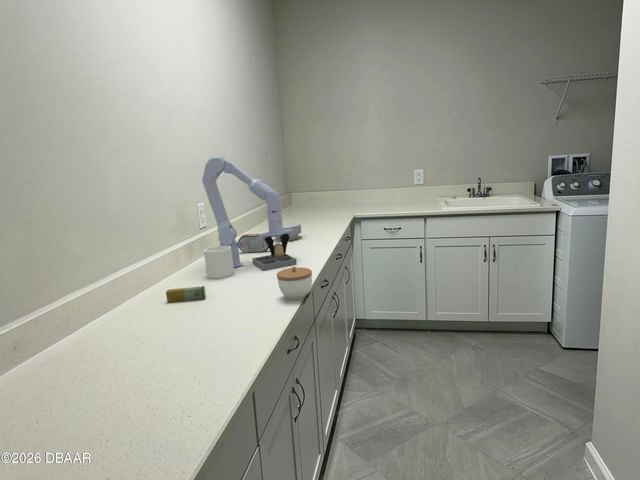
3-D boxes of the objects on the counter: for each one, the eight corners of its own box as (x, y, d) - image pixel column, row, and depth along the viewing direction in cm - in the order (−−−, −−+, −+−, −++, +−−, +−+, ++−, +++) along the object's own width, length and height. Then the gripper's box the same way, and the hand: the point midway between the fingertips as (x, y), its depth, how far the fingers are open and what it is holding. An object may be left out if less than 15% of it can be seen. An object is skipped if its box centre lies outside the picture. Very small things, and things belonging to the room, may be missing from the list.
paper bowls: (301, 241, 210) (299, 225, 208) (270, 243, 211) (268, 227, 209) (302, 235, 225) (301, 220, 223) (274, 237, 225) (272, 222, 224)
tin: (271, 250, 195) (270, 232, 193) (270, 252, 192) (268, 234, 190) (240, 252, 197) (237, 234, 195) (238, 254, 194) (236, 236, 192)
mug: (226, 279, 156) (222, 252, 153) (202, 278, 159) (198, 252, 156) (241, 269, 167) (238, 244, 165) (219, 269, 170) (216, 244, 168)
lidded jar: (282, 304, 125) (279, 274, 123) (276, 293, 135) (273, 265, 133) (317, 298, 128) (315, 268, 126) (309, 288, 138) (306, 260, 136)
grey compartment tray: (263, 270, 162) (262, 265, 162) (252, 263, 175) (252, 258, 174) (296, 264, 168) (296, 258, 168) (284, 257, 180) (283, 252, 180)
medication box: (206, 297, 138) (205, 285, 137) (205, 300, 135) (203, 288, 134) (169, 300, 137) (167, 289, 137) (166, 303, 135) (165, 291, 134)
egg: (275, 259, 173) (274, 245, 171) (272, 257, 176) (270, 243, 175) (285, 257, 174) (284, 243, 173) (282, 255, 178) (280, 241, 177)
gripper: (261, 225, 166) (264, 258, 169) (295, 219, 172) (298, 252, 175) (255, 222, 172) (259, 255, 175) (289, 217, 178) (291, 249, 181)
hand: (278, 253), depth 175 cm, fingers closed on egg, 4 cm apart
